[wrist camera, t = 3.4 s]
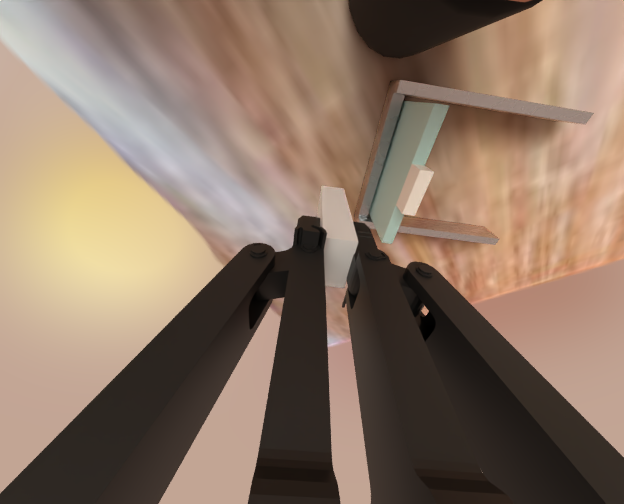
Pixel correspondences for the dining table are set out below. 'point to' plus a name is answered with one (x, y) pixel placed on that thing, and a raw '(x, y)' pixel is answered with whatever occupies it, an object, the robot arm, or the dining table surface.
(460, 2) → the coffee jar
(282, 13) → the dining table surface
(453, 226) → the open-ended rimmed tray
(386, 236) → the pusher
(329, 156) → the dining table surface
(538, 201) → the dining table surface
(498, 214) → the dining table surface
